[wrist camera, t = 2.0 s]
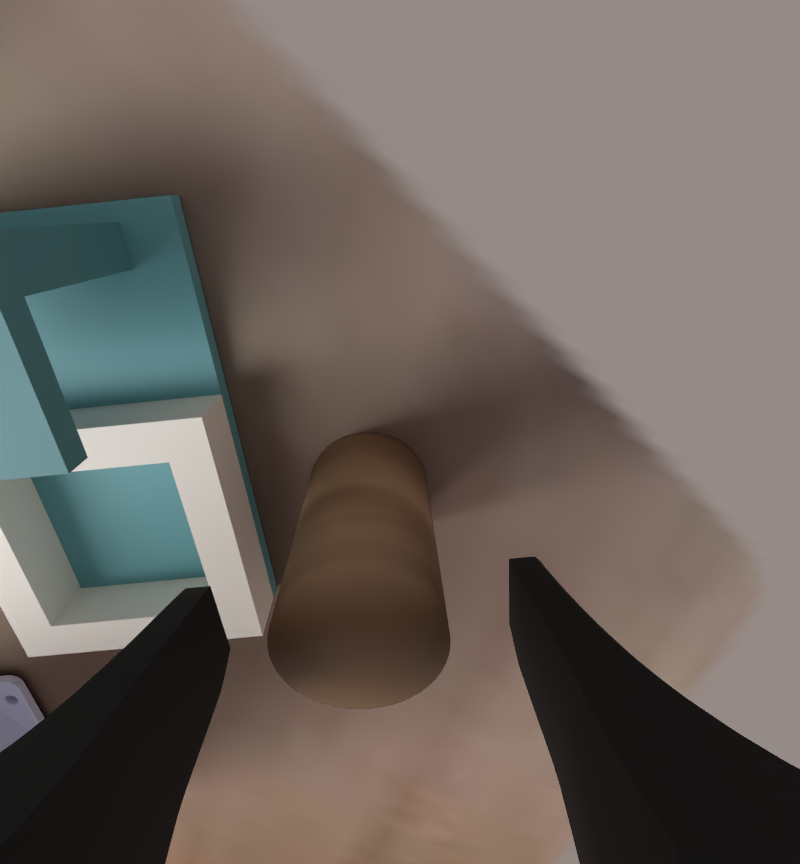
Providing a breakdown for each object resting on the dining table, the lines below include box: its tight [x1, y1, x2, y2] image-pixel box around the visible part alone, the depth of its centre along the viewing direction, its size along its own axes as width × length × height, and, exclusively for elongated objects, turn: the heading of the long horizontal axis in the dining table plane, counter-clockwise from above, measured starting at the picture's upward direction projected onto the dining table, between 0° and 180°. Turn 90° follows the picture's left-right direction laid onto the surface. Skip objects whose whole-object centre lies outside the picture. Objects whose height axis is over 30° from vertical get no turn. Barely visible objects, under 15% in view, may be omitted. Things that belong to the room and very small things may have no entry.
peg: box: [267, 432, 450, 709], centre depth 14 cm, size 4×4×7 cm
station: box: [0, 195, 277, 657], centre depth 14 cm, size 14×8×6 cm, turn 5°
